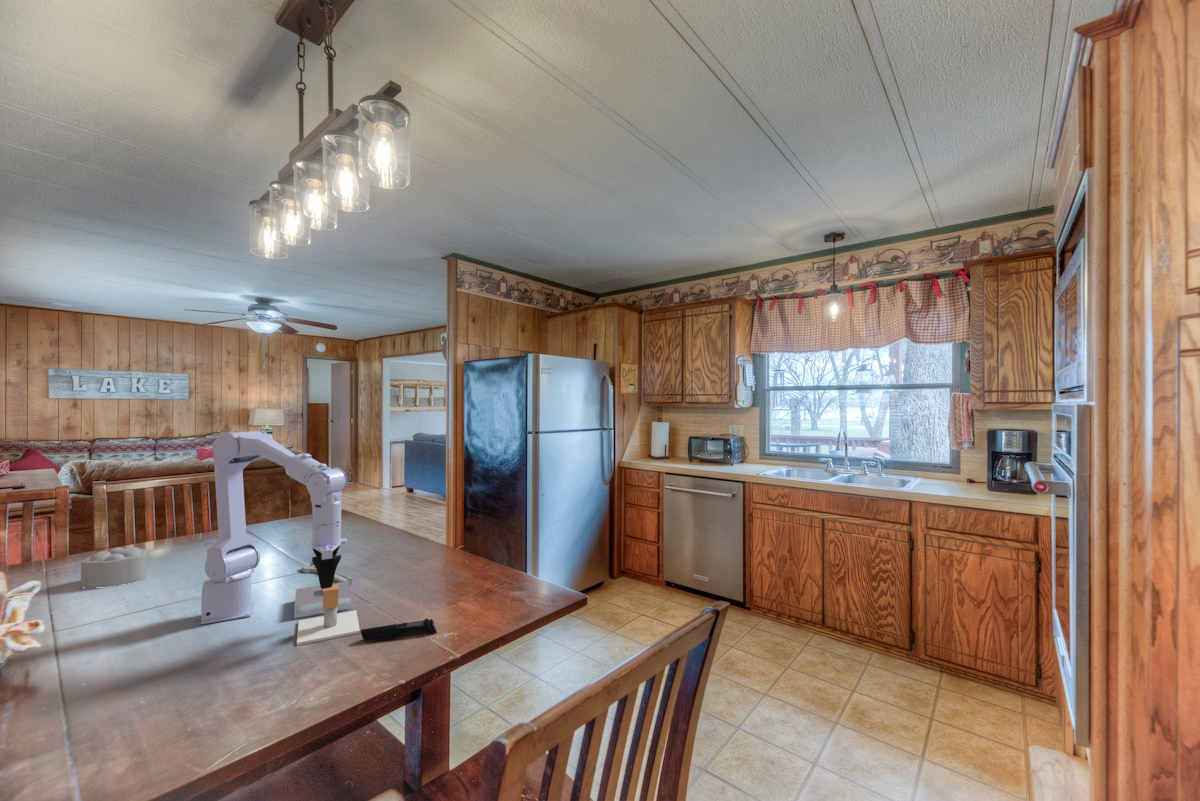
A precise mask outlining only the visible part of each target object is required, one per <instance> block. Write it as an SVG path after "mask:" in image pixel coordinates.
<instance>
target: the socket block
mask: <svg viewBox="0 0 1200 801" xmlns="http://www.w3.org/2000/svg"><path fill="white" fill-rule="evenodd" d="M337 584H338V607H337V612H340V611H347V610H352V594H351V587H350V586H351V585H349V581H346V582H340V583H339V582H335V583H334V582H333V585H337ZM295 589H296V590H295V598H294V607H293V608H294V610H293V611H294V614H293V619H294V620H297V619H302V618H308V617H313V616H319V615H324V609H323V589H321V587H320V585H315V586H307V587H301V588H300V587H299V588H295Z"/></svg>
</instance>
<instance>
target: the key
mask: <svg viewBox="0 0 1200 801" xmlns="http://www.w3.org/2000/svg"><path fill="white" fill-rule="evenodd" d="M337 607H338V584H337V585H332V587H331V588H324V589H323V609H324V614H323V616H324V627H325V628H330V627H334V626H336V625H337V614H338V611H337Z"/></svg>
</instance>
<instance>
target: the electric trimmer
mask: <svg viewBox="0 0 1200 801" xmlns="http://www.w3.org/2000/svg"><path fill="white" fill-rule="evenodd" d="M436 631H437V626H436V623H435V621H434V620H433V618H431V619H429V618H424V620H418V621H410V622H402V623H393V624H388V625H382V626H375V627H369V628H362V629H360V635H361V637H362V638H361V639H363V640H364V641H365V642H366V641H383V640H384V641H385V640H396V639H397V638H399V637H400V638H401V637H405V636H406V637H407V636H414V635H423V634H429V633H430V634H431V635H434V634H435V633H436V634H437V632H436ZM433 633H434V634H433Z"/></svg>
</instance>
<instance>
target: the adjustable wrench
mask: <svg viewBox="0 0 1200 801" xmlns="http://www.w3.org/2000/svg"><path fill="white" fill-rule="evenodd" d="M302 571H303V573H304V574H308V573H309V574H311V573H310V572H314V573H313V574H318V572H317V570H316V567H315V566H314V564H313V562H312V561H311V562H310V565H307V564H302V565H301V572H302ZM315 572H316V573H315ZM334 580H335V581H334V582H336V581H337V582H336V583H340V582H346V581H349V586H352V585H354V584H355V579H354V578H352V577H350V576H347V575H345V574H342V573H341V572H338V571H335V575H334ZM351 584H352V585H351Z"/></svg>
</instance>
